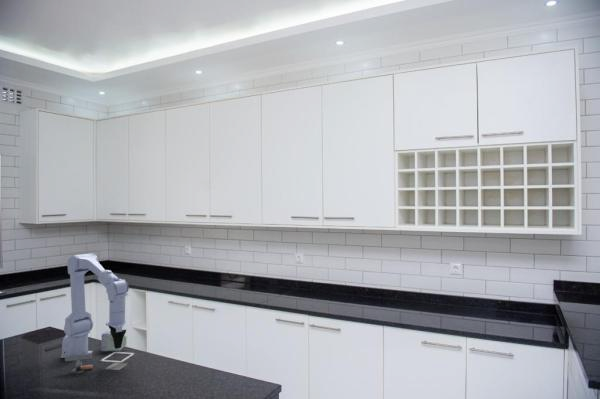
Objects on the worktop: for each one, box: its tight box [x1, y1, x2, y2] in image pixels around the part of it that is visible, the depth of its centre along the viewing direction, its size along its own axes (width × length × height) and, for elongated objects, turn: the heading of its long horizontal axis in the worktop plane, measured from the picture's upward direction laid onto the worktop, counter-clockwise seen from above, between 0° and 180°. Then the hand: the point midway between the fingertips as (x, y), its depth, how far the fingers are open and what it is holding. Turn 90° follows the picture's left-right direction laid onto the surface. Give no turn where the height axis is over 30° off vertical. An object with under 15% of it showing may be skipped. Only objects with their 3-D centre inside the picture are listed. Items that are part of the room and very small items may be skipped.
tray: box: [99, 351, 136, 363], centre depth 162 cm, size 10×10×2 cm
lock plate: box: [71, 362, 128, 374], centre depth 151 cm, size 22×12×1 cm, turn 81°
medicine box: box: [101, 330, 123, 352], centre depth 171 cm, size 8×4×9 cm, turn 92°
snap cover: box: [107, 335, 127, 351], centre depth 155 cm, size 5×5×4 cm
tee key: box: [64, 351, 93, 371], centre depth 150 cm, size 9×2×6 cm, turn 109°
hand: (116, 344), depth 155 cm, fingers closed on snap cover, 7 cm apart
